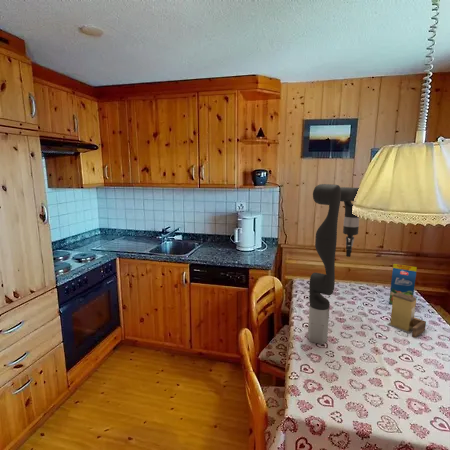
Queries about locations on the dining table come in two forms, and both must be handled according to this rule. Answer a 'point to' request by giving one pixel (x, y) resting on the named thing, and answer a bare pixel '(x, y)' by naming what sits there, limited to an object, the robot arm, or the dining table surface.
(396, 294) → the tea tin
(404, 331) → the mat
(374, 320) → the dining table surface
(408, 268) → the blue food package
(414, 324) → the corner arena
